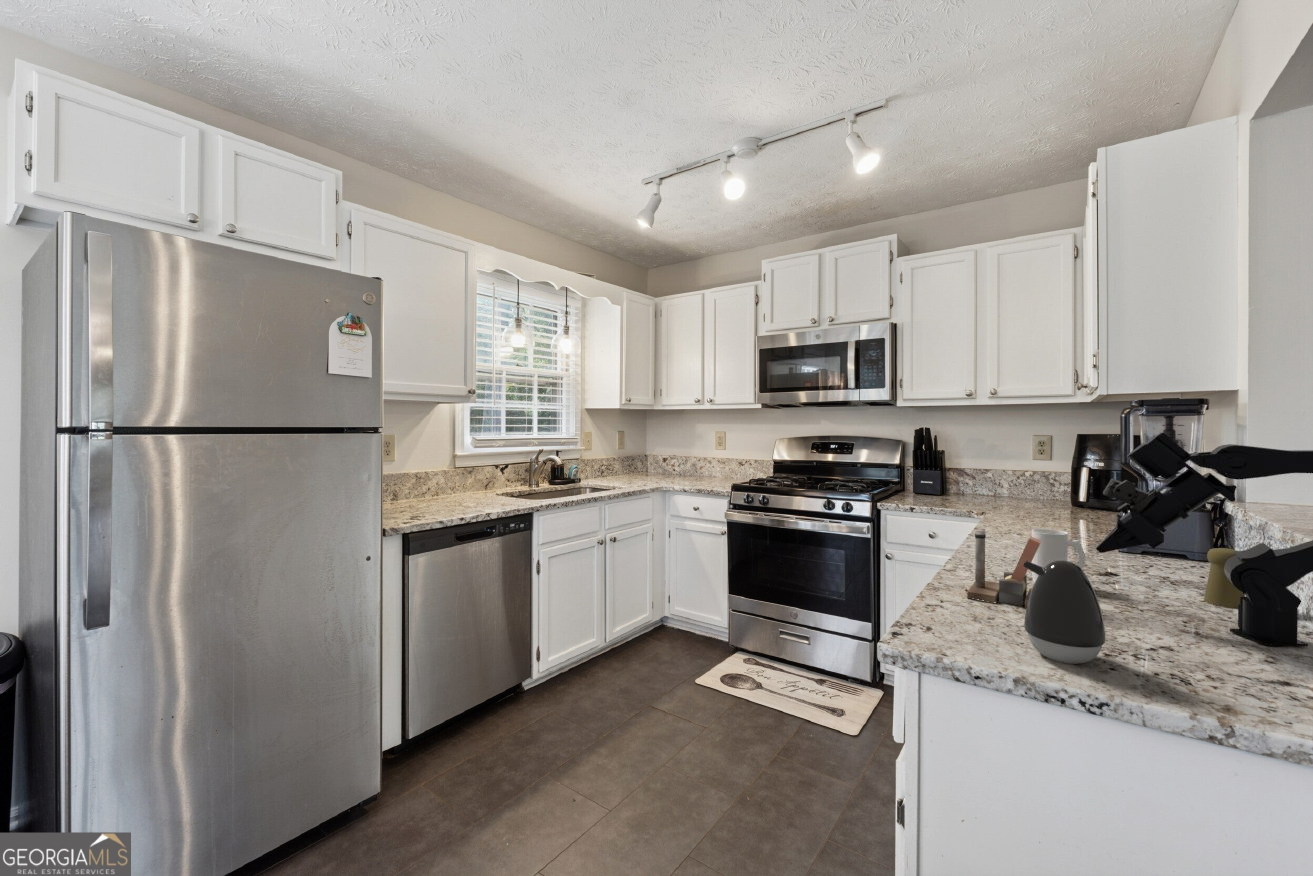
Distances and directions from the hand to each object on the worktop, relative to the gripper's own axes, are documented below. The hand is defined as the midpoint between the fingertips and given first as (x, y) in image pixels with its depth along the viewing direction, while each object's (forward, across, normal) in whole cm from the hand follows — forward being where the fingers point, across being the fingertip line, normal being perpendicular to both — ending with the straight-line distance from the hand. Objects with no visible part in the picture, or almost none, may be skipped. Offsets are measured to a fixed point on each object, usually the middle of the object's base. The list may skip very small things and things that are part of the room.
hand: (1098, 550), depth 106 cm
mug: (+14, -16, +4) cm, 22 cm away
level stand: (+18, 0, -1) cm, 18 cm away
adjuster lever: (+18, 0, -2) cm, 18 cm away
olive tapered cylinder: (-6, -21, +23) cm, 32 cm away
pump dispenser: (+12, +29, +6) cm, 31 cm away
